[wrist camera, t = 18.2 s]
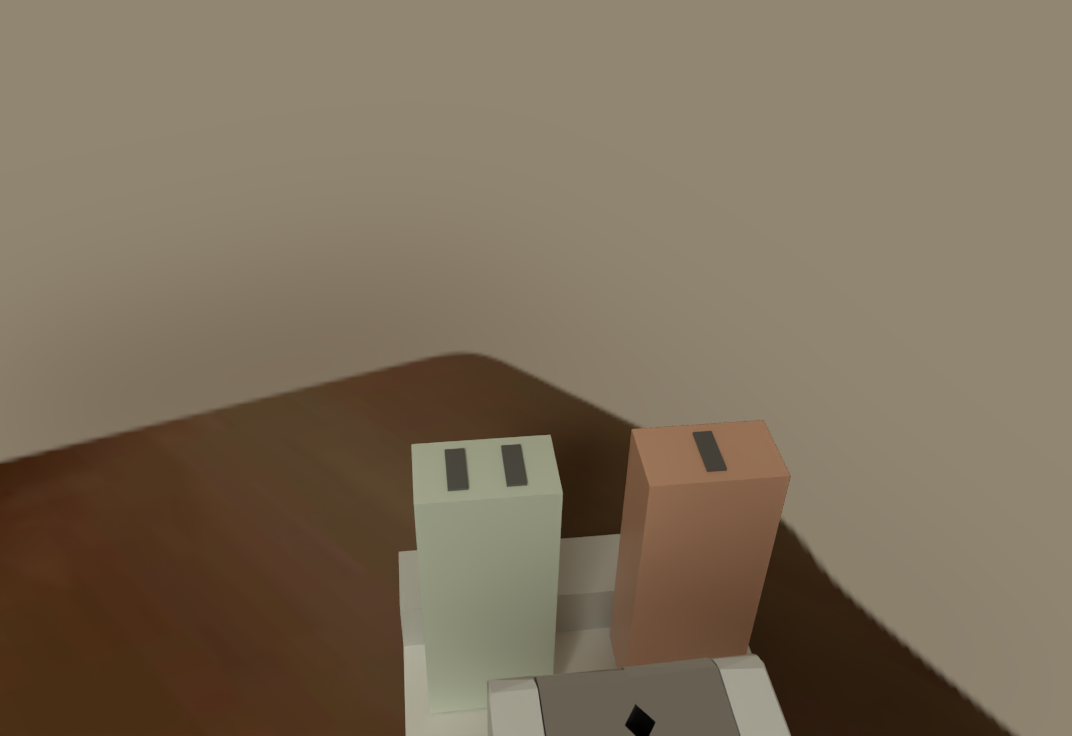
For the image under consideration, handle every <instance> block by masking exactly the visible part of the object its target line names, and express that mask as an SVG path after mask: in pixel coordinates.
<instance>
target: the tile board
mask: <svg viewBox="0 0 1072 736" xmlns="http://www.w3.org/2000/svg"><path fill="white" fill-rule="evenodd" d="M619 542H620V534H613V535H601V536H588V537H576V538H564V539H560V555H559V574H558V592H557V611H556V630H555V648H554V667H553V674H565V673H576V672H587V671H598V670H609V669H617V666H616V661H615V657H614V652H613V648H612V644H611V639H610V626H611V616H612V607H613V598H614V589H615V579H616V570H617V561H618V552H619ZM399 584H400V614H401V624H402V634H403V645H404V680H405V721H406V736H488V725H487V708H479V709H469V710H459V711H449V712H439V713H430V707H429V694H428V681H427V668H426V655H425V642H424V629H423V616H422V603H421V590H420V577H419V565H418V552H417V550H416V551H404V552H399ZM746 654H752V653H751V650H750V648H749V645H748V649H747V653H746Z"/></svg>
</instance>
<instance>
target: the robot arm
mask: <svg viewBox="0 0 1072 736" xmlns="http://www.w3.org/2000/svg"><path fill="white" fill-rule="evenodd" d="M487 725H488V736H791V734H790V731H789V728H788V726H787V723H786V720H785V718H784V715H783V712H782V710H781V707H780V704H779V702H778V699H777V696H776V694H775V691H774V688H773V686H772V683H771V680H770V678H769V675H768V672H767V670H766V667H765V665H764V663H763V662H762V661H761V659H760V658H759V657H758V656H757V655H755V654H745V655H736V656H728V657H719V658H710V659H709V657H707V658H698V659H690V660H681V661H672V662H664V663H655V664H647V665H638V666H629V667H623V668H622V669H621V668H620V669H609V670H598V671H587V672H576V673H565V674H553V675H542V676H535V677H534V676H524V677H515V678H505V679H495V680H488V681H487Z"/></svg>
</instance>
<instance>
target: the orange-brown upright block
mask: <svg viewBox="0 0 1072 736" xmlns="http://www.w3.org/2000/svg"><path fill="white" fill-rule="evenodd" d="M790 477H791V476H790V474H789V471H788V469H787V467H786V466H785V463H784V461H783V459H782V457H781V455H780V453H779V451H778V449H777V446H776V444H775V443H774V440H773V438H772V436H771V434H770V432H769V430H768V428H767V426H766V424H765V422H764V420H757V421H743V422H728V423H713V424H699V425H684V426H670V427H656V428H640V429H632V431H631V441H630V450H629V459H628V468H627V478H626V487H625V496H624V505H623V515H622V524H621V533H620V542H619V552H618V561H617V570H616V579H615V589H614V598H613V607H612V616H611V626H610V639H611V644H612V648H613V652H614V657H615V661H616V666H617V669H620V668H621V669H622V668H623V667H629V666H638V665H647V664H655V663H664V662H672V661H681V660H690V659H698V658H707V657H709V659H710V658H719V657H728V656H736V655H745V654H746V653H747V649H748V645H749V641H750V637H751V633H752V629H753V625H754V621H755V617H756V613H757V609H758V605H759V601H760V597H761V593H762V589H763V585H764V581H765V577H766V573H767V569H768V565H769V561H770V557H771V553H772V549H773V545H774V541H775V537H776V533H777V529H778V525H779V521H780V517H781V513H782V508H783V505H784V501H785V497H786V493H787V489H788V484H789V481H790Z"/></svg>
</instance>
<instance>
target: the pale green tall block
mask: <svg viewBox="0 0 1072 736" xmlns="http://www.w3.org/2000/svg"><path fill="white" fill-rule="evenodd" d="M411 445H412V470H413V495H414V513H415V526H416V539H417V552H418V565H419V577H420V590H421V603H422V616H423V629H424V642H425V655H426V668H427V681H428V694H429V707H430V713H439V712H449V711H459V710H469V709H479V708H487V681H488V680H495V679H505V678H515V677H524V676H534V677H535V676H542V675H553V667H554V648H555V630H556V611H557V592H558V574H559V555H560V537H561V518H562V500H563V492H562V487H561V482H560V477H559V473H558V468H557V463H556V458H555V454H554V449H553V444H552V440H551V435H539V436H524V437H510V438H495V439H481V440H466V441H452V442H437V443H423V444H411Z"/></svg>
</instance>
